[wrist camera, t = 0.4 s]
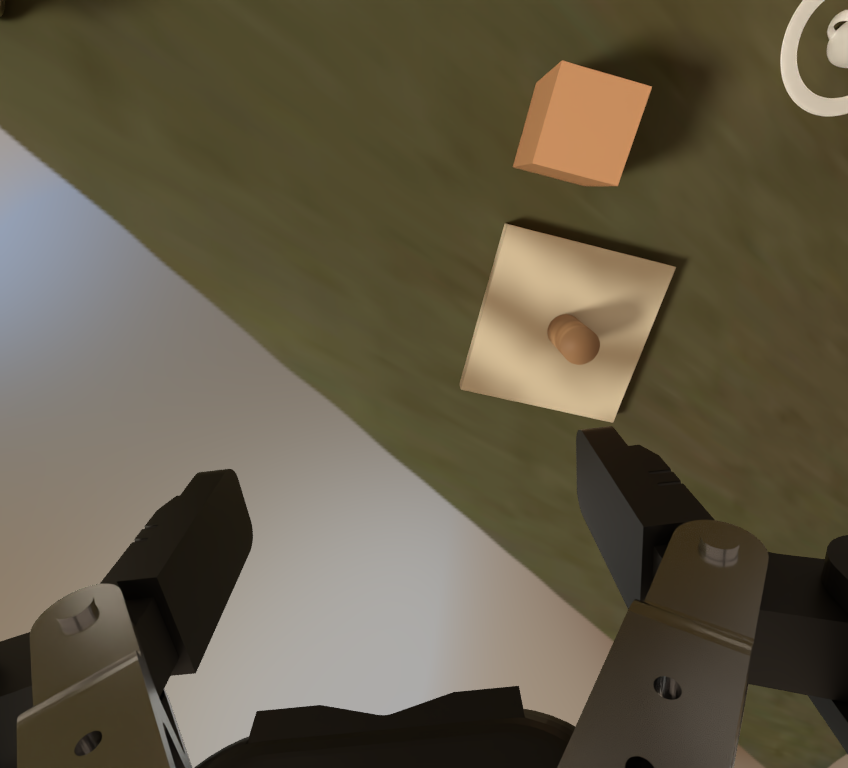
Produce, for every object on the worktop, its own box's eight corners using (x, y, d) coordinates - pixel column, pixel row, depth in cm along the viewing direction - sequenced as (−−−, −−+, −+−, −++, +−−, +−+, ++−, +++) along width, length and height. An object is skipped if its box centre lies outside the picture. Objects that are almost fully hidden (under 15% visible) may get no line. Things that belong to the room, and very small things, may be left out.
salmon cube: (536, 82, 32) (561, 60, 27) (611, 104, 33) (652, 86, 27) (512, 167, 34) (532, 163, 28) (584, 186, 34) (617, 186, 29)
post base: (504, 223, 35) (519, 229, 30) (667, 264, 36) (707, 276, 31) (459, 383, 39) (465, 411, 34) (607, 416, 40) (633, 447, 36)
